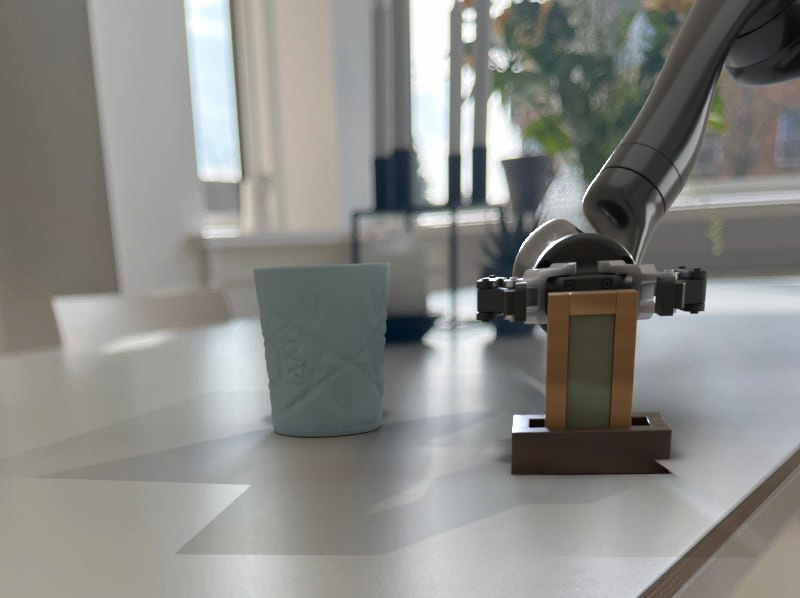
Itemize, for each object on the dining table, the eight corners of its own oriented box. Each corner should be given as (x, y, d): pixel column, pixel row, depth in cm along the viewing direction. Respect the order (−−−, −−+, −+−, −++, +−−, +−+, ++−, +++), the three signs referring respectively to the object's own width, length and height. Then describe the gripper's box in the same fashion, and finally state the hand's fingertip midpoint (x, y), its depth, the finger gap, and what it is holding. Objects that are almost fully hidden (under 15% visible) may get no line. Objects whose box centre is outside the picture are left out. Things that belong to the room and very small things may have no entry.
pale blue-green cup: (243, 437, 78) (230, 269, 74) (293, 415, 87) (284, 264, 83) (371, 439, 75) (365, 263, 70) (409, 416, 83) (406, 258, 79)
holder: (513, 453, 67) (513, 414, 66) (656, 451, 66) (659, 412, 65) (511, 474, 61) (511, 432, 61) (669, 473, 60) (672, 429, 59)
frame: (543, 459, 65) (548, 292, 62) (625, 458, 64) (635, 289, 61) (543, 466, 63) (548, 295, 59) (628, 466, 62) (638, 291, 58)
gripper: (678, 336, 76) (714, 361, 61) (483, 343, 79) (472, 368, 64) (685, 227, 73) (725, 225, 59) (483, 238, 76) (472, 239, 61)
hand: (593, 300), depth 61 cm, fingers open, 8 cm apart
